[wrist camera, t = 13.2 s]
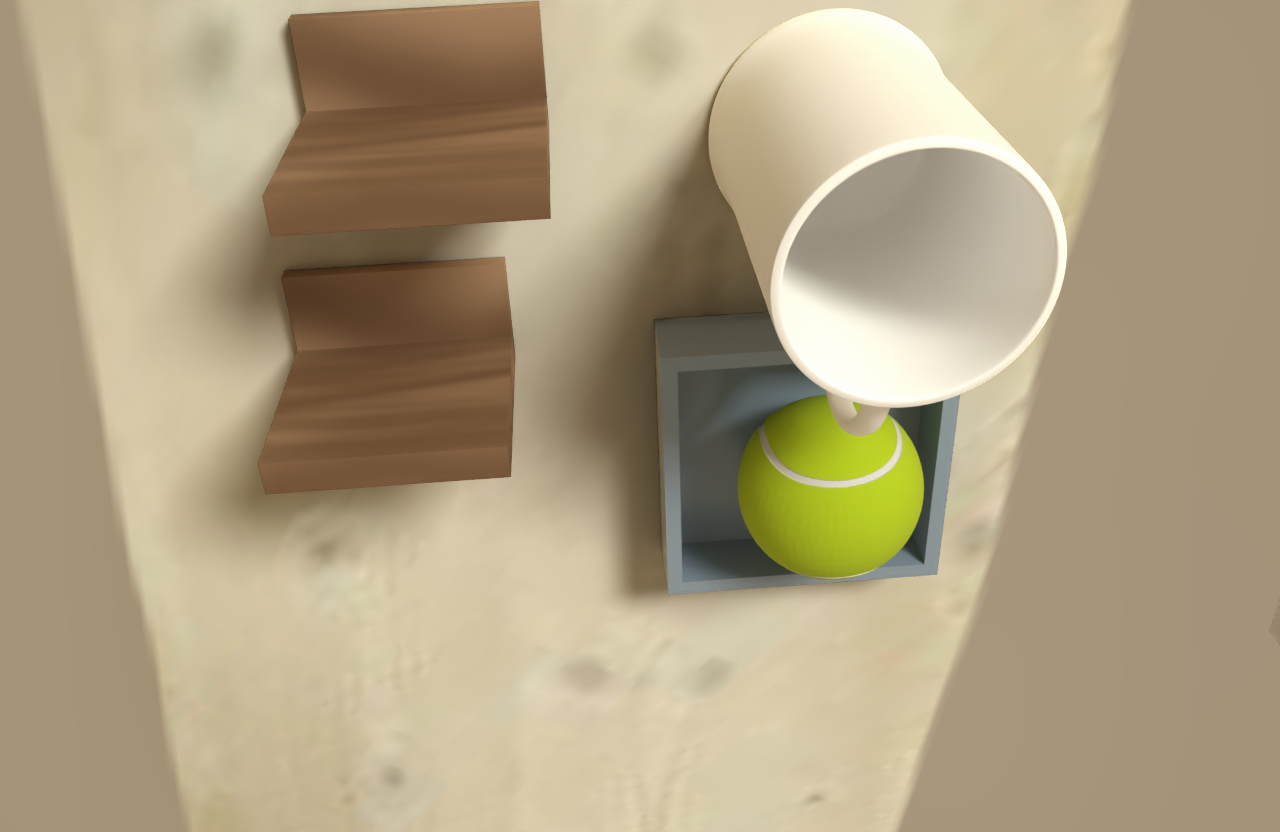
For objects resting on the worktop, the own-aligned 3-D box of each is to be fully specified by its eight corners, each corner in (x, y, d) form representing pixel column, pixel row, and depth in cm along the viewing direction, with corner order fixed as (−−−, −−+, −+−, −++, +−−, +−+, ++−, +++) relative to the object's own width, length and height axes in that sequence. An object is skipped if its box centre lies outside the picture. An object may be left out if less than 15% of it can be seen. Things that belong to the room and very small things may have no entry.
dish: (654, 319, 45) (660, 358, 43) (943, 300, 46) (967, 338, 43) (661, 548, 52) (668, 594, 49) (917, 529, 52) (937, 574, 49)
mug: (893, 329, 46) (991, 515, 36) (677, 310, 45) (716, 498, 35) (977, 22, 40) (1123, 145, 30) (729, -8, 39) (795, 109, 29)
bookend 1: (291, 14, 39) (239, 91, 32) (538, 1, 39) (538, 73, 32) (315, 140, 41) (270, 236, 34) (549, 126, 41) (550, 218, 34)
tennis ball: (894, 495, 50) (940, 607, 44) (729, 513, 50) (754, 627, 44) (900, 352, 46) (953, 453, 41) (722, 370, 46) (749, 475, 40)
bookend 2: (284, 270, 43) (236, 384, 37) (504, 256, 44) (497, 366, 37) (306, 370, 46) (265, 494, 39) (515, 356, 46) (511, 476, 39)
